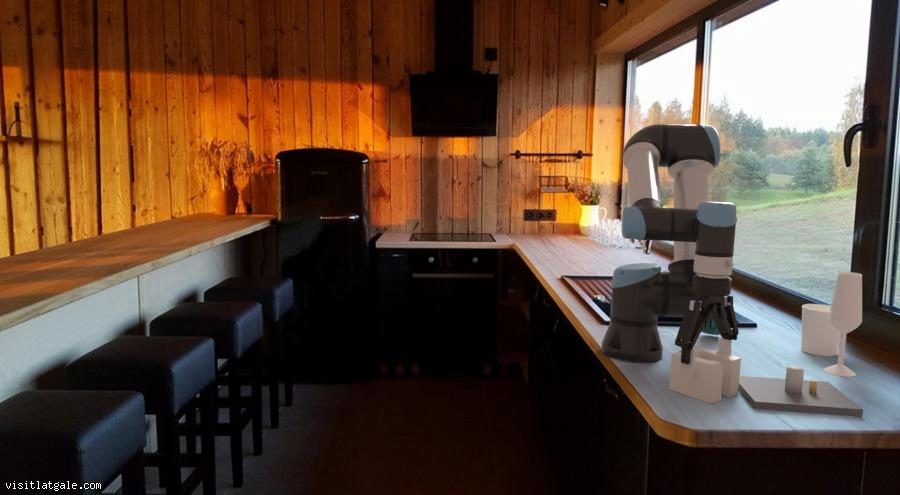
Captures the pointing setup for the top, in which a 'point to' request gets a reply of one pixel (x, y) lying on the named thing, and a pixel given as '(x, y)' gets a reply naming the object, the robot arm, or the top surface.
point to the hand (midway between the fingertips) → (705, 373)
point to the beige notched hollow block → (707, 375)
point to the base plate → (796, 394)
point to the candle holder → (818, 331)
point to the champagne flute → (845, 314)
